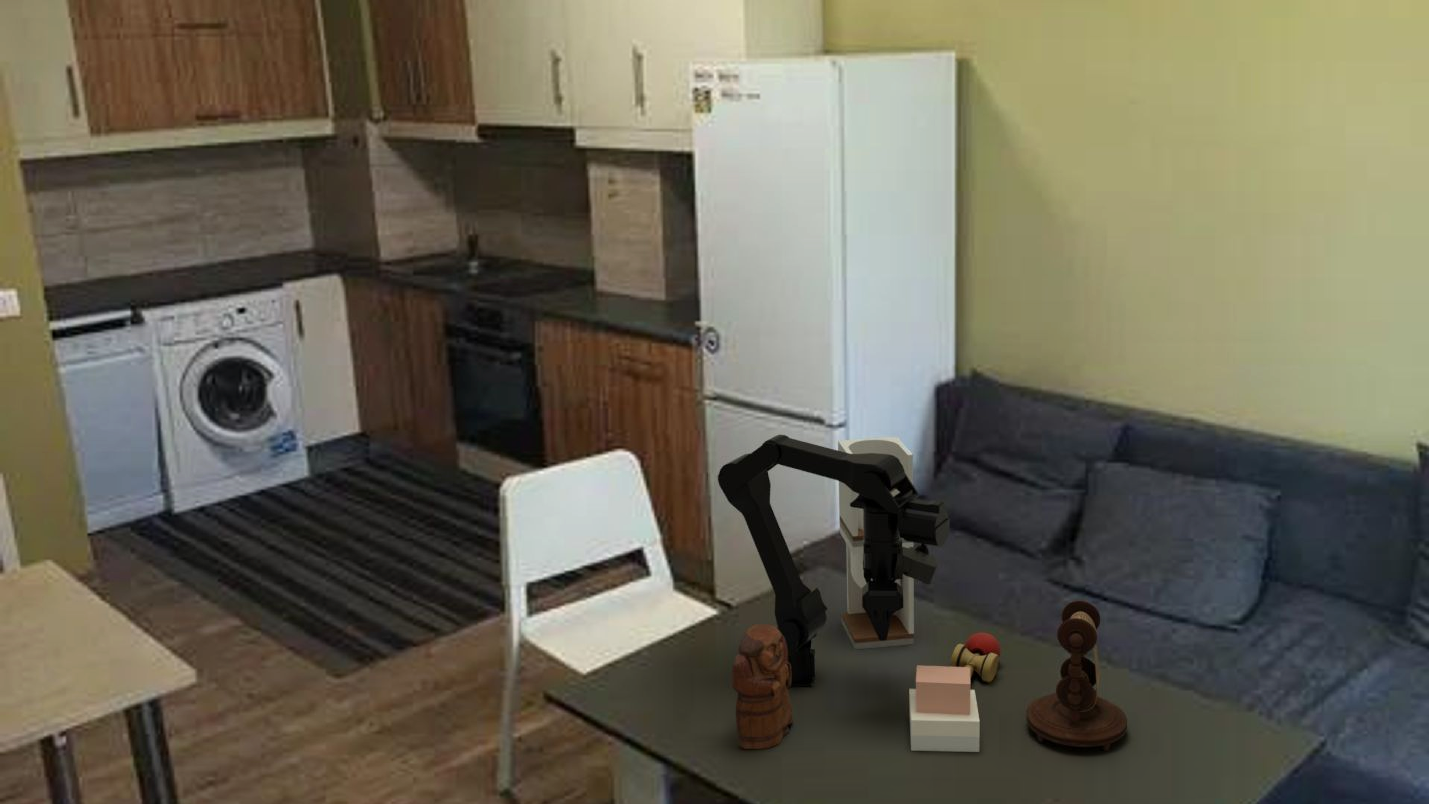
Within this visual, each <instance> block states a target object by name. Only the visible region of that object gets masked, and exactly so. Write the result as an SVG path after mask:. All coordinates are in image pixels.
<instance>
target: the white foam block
mask: <svg viewBox="0 0 1429 804" xmlns="http://www.w3.org/2000/svg"><path fill="white" fill-rule="evenodd" d="M908 692H909V695H908V700H909V701H908V705H909V713H908V715H909V717H908V718H909V731H910V732H909V733H910V734H909V736H910V750H911V751H913V752H914V751H915V752H916V751H918V752H919V751H920V752H959V753H960V752H962V753H963V752H964V753H966V752H967V753H968V752H969V753H980V729H981V727H980V721H981V720H980V716H979V715H980V714H979V708H978V703H977V702H978V701H977V697H976V691H975V689H970V715H965V714H944V713H923V712H916V688H909V690H908Z"/></svg>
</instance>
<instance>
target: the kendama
mask: <svg viewBox="0 0 1429 804" xmlns="http://www.w3.org/2000/svg"><path fill="white" fill-rule="evenodd" d="M1000 657H1001V646H1000V643H999V641H998V640H997V639H996V637H995V636H993V635H992V634H990V633H987V632H977V633H974V634H972V635H970V637H969V638H967V640H966V642H965V644H962V643H958V644H957V645H956V646H955V648H954V649H953V652H952V655H951V658H950V667H970V680H971V679H972V676H973V674H974V671H975V672H976V673H977V674H978V675H979V676H980V678H981V680H982V681H983V682H987V683H991V682H992V681H993V680H994V677H995V675H996V673H997V670H998V668H999V667H998V666H999V661H1000V660H999V659H1000Z"/></svg>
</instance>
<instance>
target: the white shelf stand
mask: <svg viewBox="0 0 1429 804" xmlns="http://www.w3.org/2000/svg"><path fill="white" fill-rule="evenodd" d="M837 450H838V451H842V452H845V453H849V454H865V453H878V454H889V455H893V456H895V457H897V458H898V459H899V460H900V463H901V464H902V465H903V468H904V471H905V474H906V475H907V477H908V478H909V480H910V481H911V483H912V484H913V485H914V454H913V453H912V452H911V451H910V450H909V449H908V447H907V446H906V445H905V444H904V443H903V442H902V440H900V439H899V437H898V436H886V437H873V438H862V439H861V438H859V439H845V440H838V441H837ZM898 493H900V492H899V491H898V490H897V489H895V490H894V491H893V492H891V494H892V496H893V497H894V496H895V495H897V494H898ZM858 495H859V494H858V493H856V492H854V491H852V490H851V489H850V488H849V487H848V486H846V485H845V484H844V483H842V482H840V481H838V506H839V507H838V508H839V509H838V510H839V517H838V518H839V534H840V535H841V536H842V538H843V540H844V542H845V545H846V546H845V547H846V548H845V549H846V550H845V551H846V555H845V556H846V595H847V596H846V598H847V599H846V602H847V609H846V610H847V611H846V612H845V611H844V612H841V615H840V616H841V617H840V618H841V625H842V627H843V629H844V631H845V633H846V635H847V637H848V639H849V641H850V642H851V643H850V644H852V646H853V649H854V650H862V649H875V648H887V647H896V646H897V647H899V646H909V645H911V646H912V645H914V644H915V608H914V604H915V599H914V598H915V597H914V596H915V595H914V594H915V593H914V591H915V588H914V587H915V583H914V580H915V579H913V578H911V577H908V576H905V575H904V574H903V579H897V580H896V581H895V582H897V583H898V584H899V585H900V586H901V587H902V588H903V608H902V609H901V610H899V611H896V612H895V613H894V614H893V615H892V619H891V623H890V627H889V632H888V636H887V640H886V641H880V640H879V638H878V636H877V634H876V632H875V630H874V628H873V625H872V623H871V621H870V619H869V617H868V615H867V613H866V611H865V610H864V609H863V608H862V587H864V586H865V585H866V584H867V583H866V581H865V578H864V570H863V553H864V551H863V545H864V538H863V536H864V535H863V509H860V508H854V507H851V506H850V503H851V502H853V501H854V500H855V499H856V498H857V497H858ZM900 539H902V546H903V547H906V548H909V547H913V546H915V544H914V542H909V541H905V540H904V538H900Z"/></svg>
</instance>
